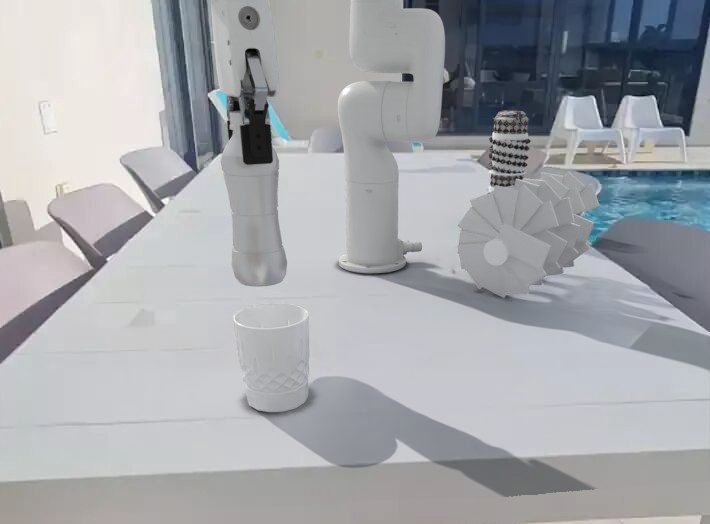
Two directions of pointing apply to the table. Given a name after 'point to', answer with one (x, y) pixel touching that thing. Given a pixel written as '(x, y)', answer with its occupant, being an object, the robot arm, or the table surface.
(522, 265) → the spiral staircase
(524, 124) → the decorative candle
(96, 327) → the table surface
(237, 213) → the plastic bottle
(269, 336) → the white cup
